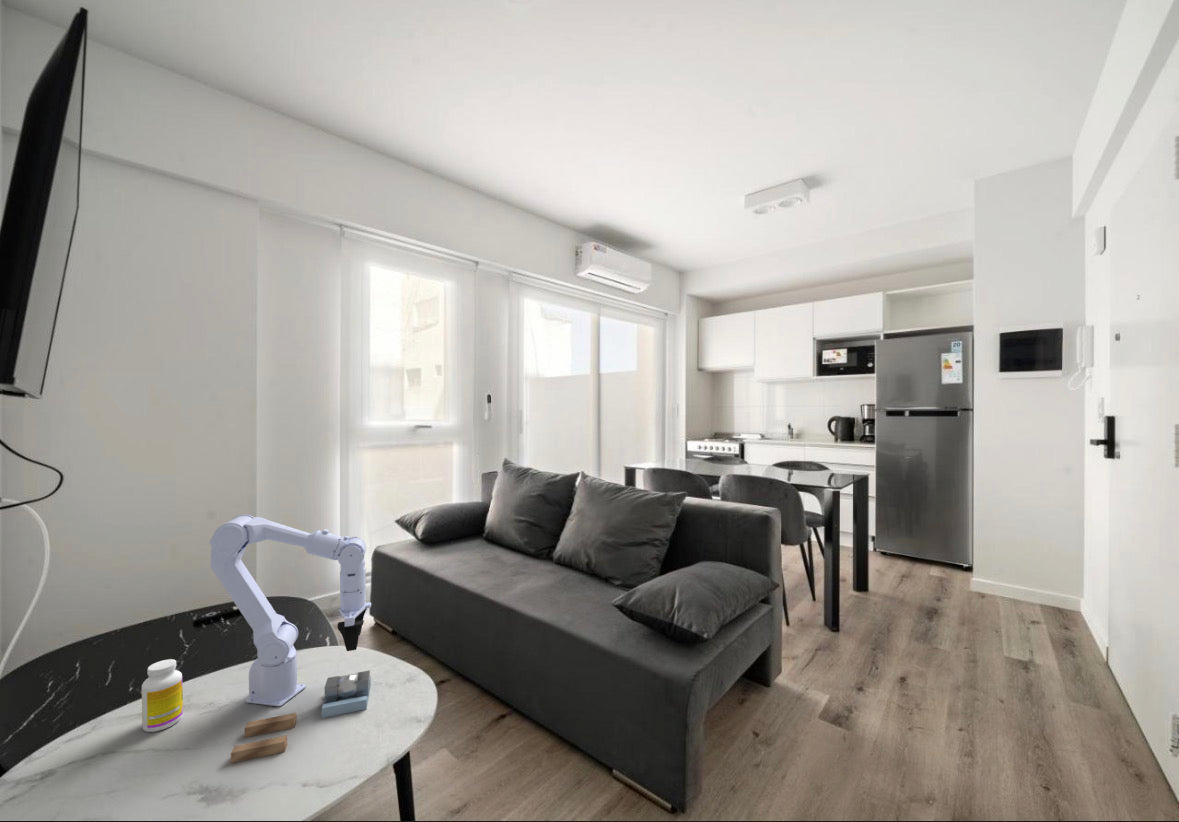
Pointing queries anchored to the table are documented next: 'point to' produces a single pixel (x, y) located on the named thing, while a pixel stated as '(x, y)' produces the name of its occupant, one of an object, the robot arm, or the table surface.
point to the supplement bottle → (162, 696)
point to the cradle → (345, 705)
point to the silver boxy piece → (347, 686)
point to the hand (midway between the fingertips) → (353, 642)
